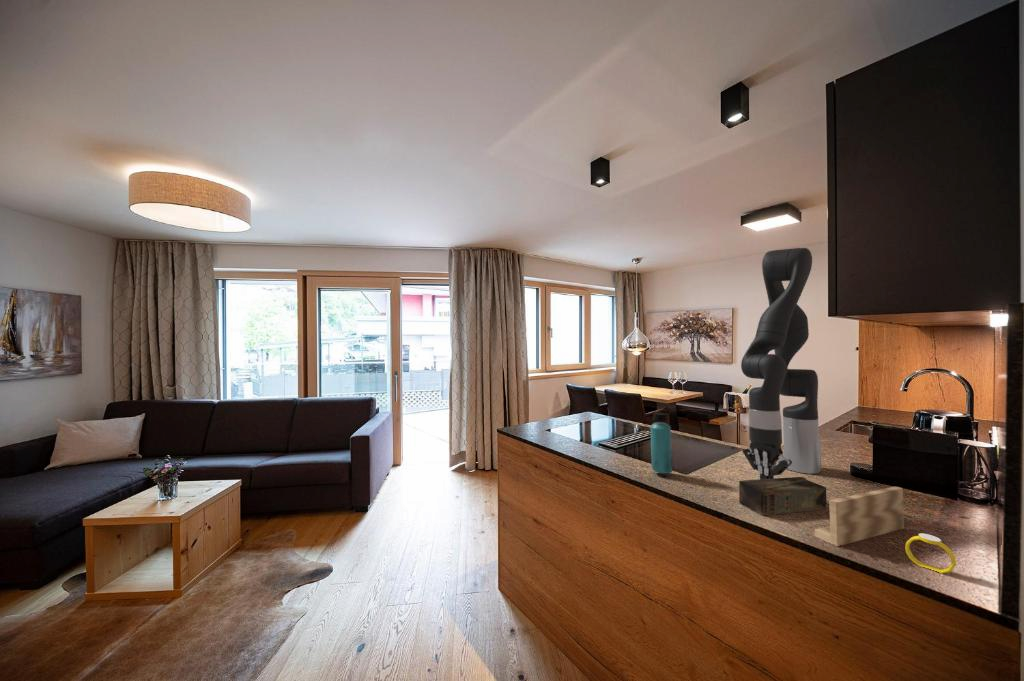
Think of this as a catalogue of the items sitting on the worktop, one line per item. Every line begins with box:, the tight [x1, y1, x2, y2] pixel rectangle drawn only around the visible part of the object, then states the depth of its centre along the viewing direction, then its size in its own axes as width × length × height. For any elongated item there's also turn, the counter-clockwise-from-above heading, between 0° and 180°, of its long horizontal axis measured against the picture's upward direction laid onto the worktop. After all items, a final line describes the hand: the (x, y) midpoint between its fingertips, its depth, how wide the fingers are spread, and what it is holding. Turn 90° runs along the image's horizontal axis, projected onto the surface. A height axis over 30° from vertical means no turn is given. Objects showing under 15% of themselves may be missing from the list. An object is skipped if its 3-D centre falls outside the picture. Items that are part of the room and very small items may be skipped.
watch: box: [904, 532, 957, 575], centre depth 66 cm, size 6×3×6 cm, turn 34°
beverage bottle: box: [649, 412, 674, 474], centre depth 117 cm, size 6×7×20 cm
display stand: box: [814, 486, 905, 547], centre depth 79 cm, size 22×4×9 cm, turn 107°
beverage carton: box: [738, 476, 828, 517], centre depth 93 cm, size 8×19×7 cm, turn 99°
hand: (766, 487), depth 99 cm, fingers closed
